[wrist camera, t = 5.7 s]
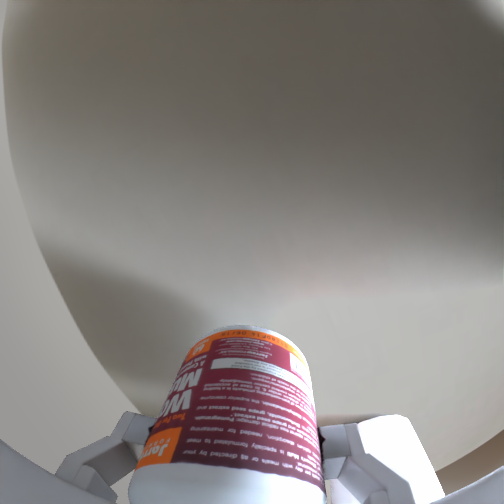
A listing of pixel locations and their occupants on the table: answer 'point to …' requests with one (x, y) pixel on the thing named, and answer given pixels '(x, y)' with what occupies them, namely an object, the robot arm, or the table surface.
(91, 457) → the robot arm
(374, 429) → the cup
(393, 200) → the table surface
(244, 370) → the pill bottle
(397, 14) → the table surface
